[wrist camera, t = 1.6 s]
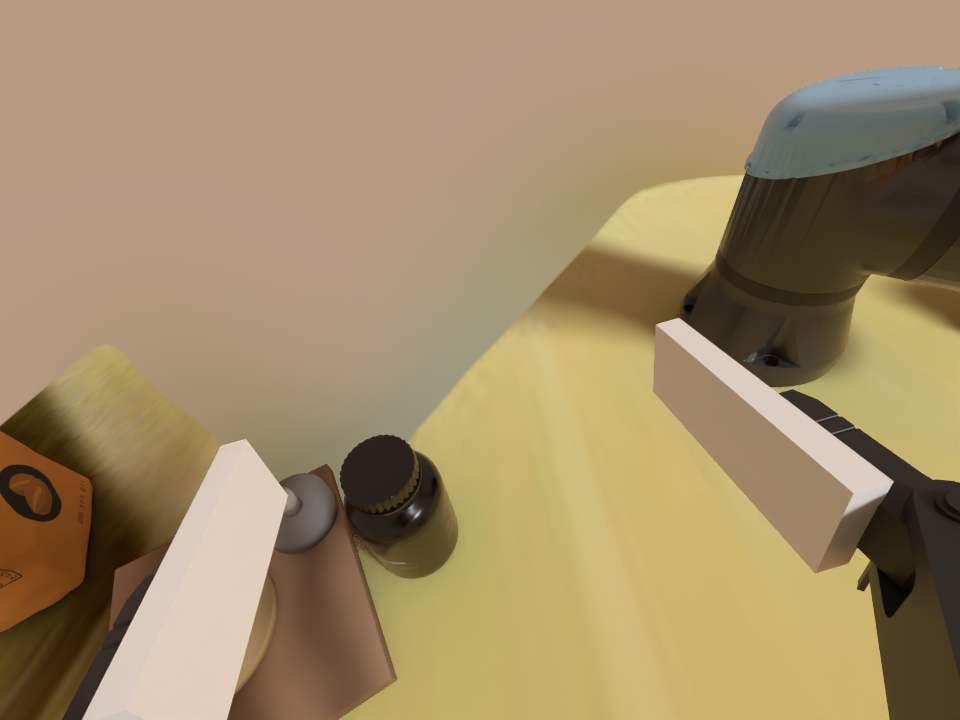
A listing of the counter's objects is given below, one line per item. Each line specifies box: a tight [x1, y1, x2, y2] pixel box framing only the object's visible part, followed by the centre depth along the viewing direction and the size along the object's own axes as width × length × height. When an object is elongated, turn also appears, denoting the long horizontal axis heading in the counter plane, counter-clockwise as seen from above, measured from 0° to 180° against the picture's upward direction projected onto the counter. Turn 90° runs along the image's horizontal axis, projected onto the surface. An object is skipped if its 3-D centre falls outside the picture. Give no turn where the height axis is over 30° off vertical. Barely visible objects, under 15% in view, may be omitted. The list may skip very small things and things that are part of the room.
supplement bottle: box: [340, 435, 458, 579], centre depth 29 cm, size 7×7×12 cm
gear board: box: [109, 464, 397, 720], centre depth 29 cm, size 18×18×6 cm
